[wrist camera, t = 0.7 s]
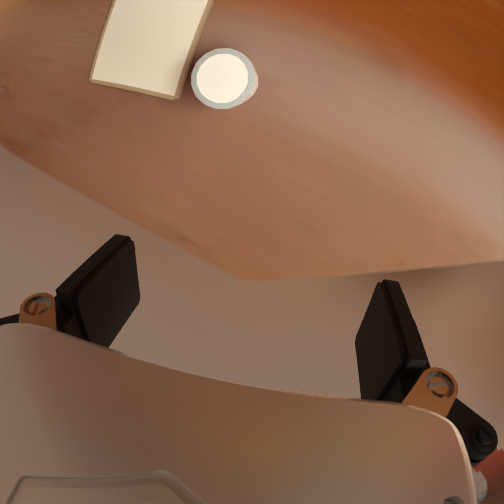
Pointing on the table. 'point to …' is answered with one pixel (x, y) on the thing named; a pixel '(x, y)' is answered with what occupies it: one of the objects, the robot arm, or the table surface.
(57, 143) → the table surface
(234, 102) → the short white cylinder
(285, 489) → the robot arm
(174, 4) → the plate
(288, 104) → the table surface
